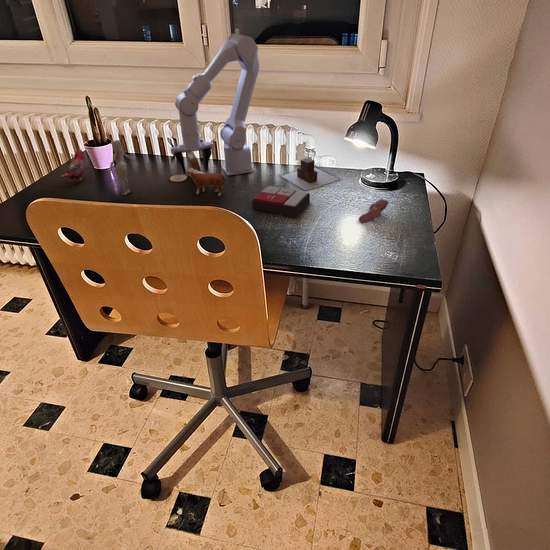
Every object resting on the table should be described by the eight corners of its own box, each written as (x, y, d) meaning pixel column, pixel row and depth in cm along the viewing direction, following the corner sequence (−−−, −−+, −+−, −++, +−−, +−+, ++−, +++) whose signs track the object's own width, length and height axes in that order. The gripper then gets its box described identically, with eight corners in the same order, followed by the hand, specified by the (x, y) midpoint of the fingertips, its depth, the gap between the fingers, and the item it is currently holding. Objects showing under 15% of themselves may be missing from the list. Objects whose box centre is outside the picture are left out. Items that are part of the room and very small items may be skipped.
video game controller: (368, 230, 122) (382, 214, 117) (356, 220, 123) (369, 204, 118) (381, 216, 129) (394, 200, 124) (369, 207, 129) (381, 191, 124)
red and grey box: (267, 184, 136) (310, 190, 131) (268, 196, 139) (310, 203, 133) (251, 198, 129) (295, 205, 123) (252, 210, 131) (296, 218, 125)
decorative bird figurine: (93, 173, 155) (85, 146, 149) (69, 194, 141) (60, 166, 135) (85, 173, 155) (77, 146, 149) (61, 194, 141) (51, 165, 135)
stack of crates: (339, 179, 148) (341, 160, 144) (305, 190, 141) (306, 171, 137) (313, 166, 158) (313, 148, 154) (280, 176, 151) (280, 157, 147)
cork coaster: (185, 174, 153) (185, 173, 153) (188, 180, 149) (188, 179, 148) (169, 177, 152) (168, 175, 151) (171, 183, 147) (171, 182, 147)
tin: (204, 186, 145) (201, 163, 140) (195, 187, 144) (191, 164, 139) (196, 170, 156) (193, 148, 151) (187, 171, 155) (184, 149, 150)
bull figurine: (191, 188, 144) (188, 165, 139) (227, 192, 141) (225, 169, 136) (185, 193, 140) (182, 170, 136) (222, 198, 137) (220, 174, 132)
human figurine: (135, 185, 146) (123, 133, 135) (143, 187, 144) (132, 135, 134) (110, 200, 137) (96, 145, 126) (119, 202, 136) (105, 147, 125)
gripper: (170, 138, 135) (176, 178, 144) (214, 133, 139) (218, 172, 147) (167, 132, 141) (173, 170, 149) (209, 127, 145) (213, 165, 153)
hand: (195, 171), depth 148 cm, fingers open, 7 cm apart
